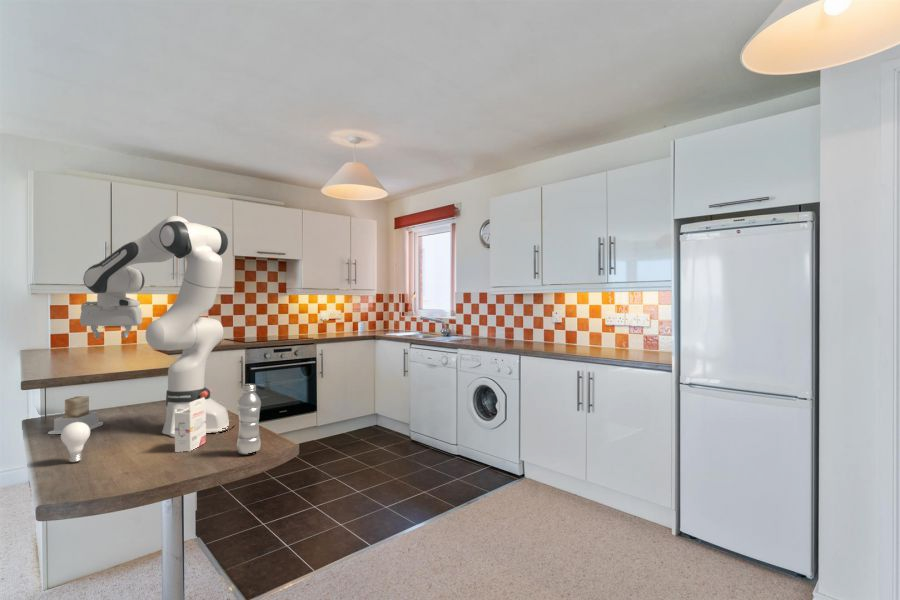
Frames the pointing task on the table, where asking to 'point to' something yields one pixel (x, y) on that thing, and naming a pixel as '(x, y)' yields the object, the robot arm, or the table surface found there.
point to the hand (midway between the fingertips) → (111, 337)
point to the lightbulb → (75, 439)
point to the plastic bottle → (248, 420)
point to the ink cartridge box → (190, 426)
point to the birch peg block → (76, 407)
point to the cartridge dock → (88, 419)
